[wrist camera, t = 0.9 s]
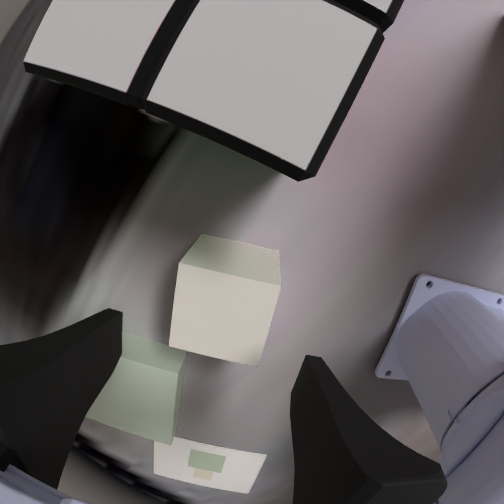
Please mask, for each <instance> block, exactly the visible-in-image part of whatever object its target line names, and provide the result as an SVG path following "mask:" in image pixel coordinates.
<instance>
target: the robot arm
mask: <svg viewBox="0 0 504 504" xmlns="http://www.w3.org/2000/svg"><path fill="white" fill-rule="evenodd" d="M429 281H431V282H430V284H429V285H428V286H426V284H427V282H429ZM498 299H499V300H498ZM497 300H498V301H497ZM122 316H123V312H120V311H116V310H113V309H110V308H108V309H106V310H103V311H101V312H99V313H97V314H94V315H92V316H90V317H88V318H86V319H84V320H82V321H79V322H77V323H75V324H73V325H71V326H68V327H66V328H63V329H61V330H58V331H55V332H53V333H50V334H47V335H44V336H41V337H38V338H34V339H31V340H27V341H22V342H17V343H11V344H6V345H0V504H92V503H89V502H85V501H82V500H80V499H77V498H73V497H71V496H69V495H66V494H64V493H62V492H60V491H58V490H57V488H58V485H59V481H60V478H61V474H62V471H63V468H64V466H65V463H66V460H67V457H68V454H69V452H70V449H71V447H72V444H73V442H74V440H75V437H76V435H77V433H78V430H79V428H80V426H81V424H82V422H83V420H84V418H85V416H86V414H87V412H88V411H89V409H90V407H91V406H92V404H93V403H94V401H95V400H96V398H97V397H98V395H99V394H100V392H101V391H102V389H103V388H104V386H105V384H106V383H107V381H108V380H109V378H110V377H111V375H112V374H113V372H114V370H115V368H116V366H117V363H118V361H119V359H120V357H121V355H122ZM387 371H389V372H388V373H386V372H387ZM375 374H376V376H377V377H378V378H386V379H396V380H408V381H409V383H410V385H411V387H412V390H413V392H414V394H415V396H416V398H417V400H418V402H419V404H420V406H421V408H422V410H423V412H424V415H425V417H426V419H427V421H428V423H429V425H430V427H431V430H432V432H433V434H434V436H435V439H436V441H437V443H438V445H439V448H440V450H441V452H442V453H441V456H440V458H439V459H438V460H437V462H435V461H433V460H431V459H429V458H427V457H425V456H423V455H421V454H419V453H417V452H415V451H413V450H412V449H410V448H408V447H407V446H405V445H404V444H402V443H401V442H399V441H398V440H396V439H395V438H394V437H392V436H391V435H390V434H388V433H387V432H386V431H384V430H383V429H382V428H381V427H380V426H378V425H377V424H376V423H375V422H374V421H373V420H372V419H371V418H370V417H369V416H368V415H367V414H366V413H365V412H364V411H363V410H362V409H361V408H360V407H359V406H358V405H357V404H356V403H355V401H354V400H353V399H352V398H351V397H350V395H349V394H348V393H347V392H346V391H345V389H344V388H343V387H342V385H341V384H340V383H339V381H338V380H337V379H336V377H335V376H334V374H333V373H332V372H331V370H330V369H329V367H328V366H327V365H326V363H325V362H324V360H323V359H322V358H321V357H316V356H310V355H306V356H305V359H304V361H303V364H302V367H301V369H300V372H299V374H298V377H297V379H296V382H295V384H294V387H293V389H292V392H291V403H290V419H291V430H292V441H293V451H294V465H295V474H294V495H293V504H504V294H500V293H496V292H493V291H489V290H485V289H481V288H477V287H474V286H470V285H466V284H462V283H458V282H454V281H450V280H446V279H442V278H438V277H434V276H431V275H427V274H420V275H418V276H417V277H416V279H415V281H414V284H413V286H412V289H411V291H410V294H409V296H408V299H407V301H406V304H405V306H404V308H403V311H402V313H401V316H400V318H399V320H398V322H397V325H396V327H395V329H394V331H393V334H392V336H391V338H390V340H389V342H388V344H387V347H386V349H385V351H384V353H383V355H382V357H381V359H380V361H379V363H378V365H377V367H376V369H375Z"/></svg>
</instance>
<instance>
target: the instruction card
mask: <svg viewBox="0 0 504 504" xmlns="http://www.w3.org/2000/svg"><path fill="white" fill-rule="evenodd" d="M266 456H267V455H266V454H259V453H253V452H246V451H240V450H235V449H229V448H224V447H219V446H214V445H210V444H205V443H201V442H196V441H192V440H188V439H184V438H180V437H176V436H174V438H173V441H172V444H171V445H167V444H164V443H160V442H157V441H154V474H158V475H161V476H165V477H169V478H172V479H176V480H180V481H184V482H188V483H193V484H197V485H202V486H207V487H212V488H217V489H222V490H228V491H234V492H240V493H247V494H248V493H249V491H250V489H251V487H252V485H253V483H254V481H255V479H256V477H257V475H258V473H259V471H260V469H261V467H262V465H263V463H264V461H265V458H266Z"/></svg>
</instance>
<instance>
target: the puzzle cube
mask: <svg viewBox="0 0 504 504" xmlns="http://www.w3.org/2000/svg"><path fill="white" fill-rule="evenodd" d="M403 2H404V0H53V1H52V3H51V5H50V7H49V9H48V11H47V12H46V14H45V16H44V18H43V20H42V22H41V24H40V26H39V28H38V30H37V32H36V34H35V36H34V39H33V41H32V43H31V45H30V47H29V50H28V52H27V54H26V57H25V59H24V61H23V62H24V66H25V71H26V72H28V73H32V74H35V75H39V76H42V77H45V78H49V79H52V80H55V81H58V82H61V83H64V84H68V85H71V86H74V87H77V88H80V89H83V90H86V91H89V92H91V93H94V94H97V95H100V96H103V97H106V98H108V99H111V100H114V101H117V102H119V103H122V104H125V105H128V106H132V107H136V108H140V109H144V110H145V111H146V113H148V114H151V115H153V116H156V117H158V118H161V119H163V120H166V121H168V122H171V123H173V124H175V125H178V126H180V127H183V128H185V129H187V130H190V131H192V132H194V133H197V134H199V135H201V136H204V137H206V138H208V139H210V140H213V141H215V142H217V143H219V144H222V145H224V146H226V147H228V148H230V149H232V150H235V151H237V152H239V153H241V154H243V155H245V156H247V157H250V158H252V159H254V160H256V161H258V162H260V163H262V164H264V165H266V166H268V167H270V168H272V169H274V170H276V171H278V172H280V173H282V174H284V175H286V176H288V177H290V178H292V179H294V180H296V181H298V182H299V181H302V180H305V179H308V178H311V177H315V176H316V174H317V172H318V170H319V168H320V166H321V164H322V162H323V161H324V159H325V157H326V155H327V153H328V151H329V149H330V147H331V145H332V143H333V141H334V139H335V137H336V135H337V133H338V131H339V129H340V127H341V125H342V123H343V121H344V119H345V117H346V116H347V114H348V112H349V110H350V108H351V106H352V104H353V102H354V100H355V98H356V96H357V94H358V92H359V90H360V88H361V86H362V84H363V82H364V80H365V78H366V76H367V74H368V72H369V70H370V68H371V65H372V63H373V61H374V59H375V57H376V55H377V53H378V51H379V49H380V47H381V45H382V43H383V41H384V39H385V38H384V36H383V34H382V33H383V32H385V31H386V30H387V29H388V28H389V27H390V26H391V25H392V24H393V23H394V20H395V18H396V16H397V14H398V12H399V10H400V8H401V6H402V4H403Z"/></svg>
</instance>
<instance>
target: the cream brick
mask: <svg viewBox="0 0 504 504" xmlns="http://www.w3.org/2000/svg"><path fill="white" fill-rule="evenodd" d="M280 289H281V274H280V259H279V251H278V250H273V249H269V248H264V247H260V246H256V245H251V244H247V243H242V242H238V241H233V240H229V239H224V238H220V237H215V236H211V235H207V234H201V235H200V236H199V238H198V239H197V240H196V242H195V243H194V244H193V245H192V247H191V248H190V249H189V250H188V252H187V253H186V254H185V256H184V257H183V258H182V260H181V261H180V262H179V266H178V273H177V281H176V288H175V296H174V304H173V312H172V321H171V330H170V339H169V346H170V347H174V348H178V349H182V350H186V351H190V352H194V353H198V354H202V355H206V356H210V357H214V358H219V359H223V360H228V361H232V362H237V363H242V364H246V365H251V366H256V367H258V365H259V362H260V358H261V355H262V352H263V348H264V345H265V341H266V338H267V335H268V331H269V328H270V324H271V321H272V317H273V314H274V310H275V307H276V303H277V300H278V296H279V292H280Z"/></svg>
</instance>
